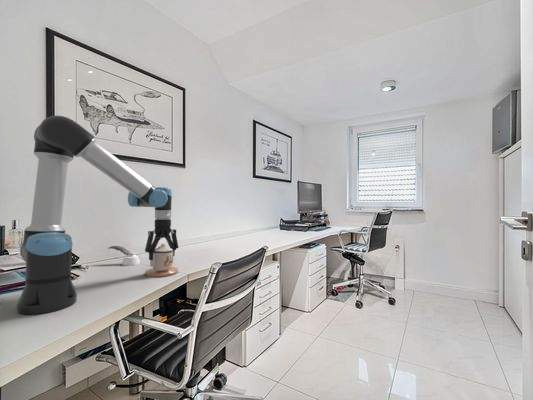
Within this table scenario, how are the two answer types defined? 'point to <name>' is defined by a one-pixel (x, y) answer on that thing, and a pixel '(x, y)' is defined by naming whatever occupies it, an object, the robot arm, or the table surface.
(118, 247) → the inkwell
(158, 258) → the teacup with lid
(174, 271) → the dish
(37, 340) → the table surface
